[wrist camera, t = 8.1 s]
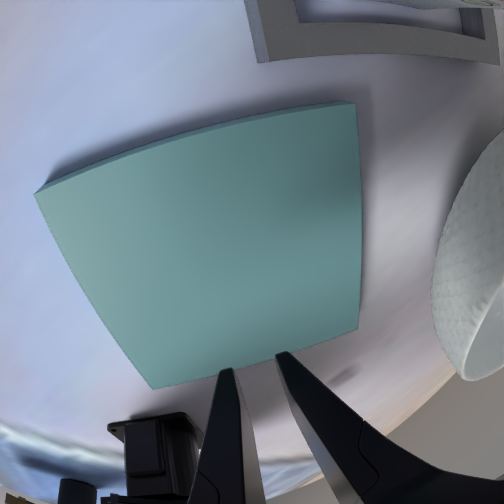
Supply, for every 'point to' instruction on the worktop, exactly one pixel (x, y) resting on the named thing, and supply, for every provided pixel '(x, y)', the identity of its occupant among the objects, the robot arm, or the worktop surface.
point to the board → (219, 240)
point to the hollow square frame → (366, 36)
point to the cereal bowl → (473, 271)
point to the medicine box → (447, 3)
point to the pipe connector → (65, 494)
